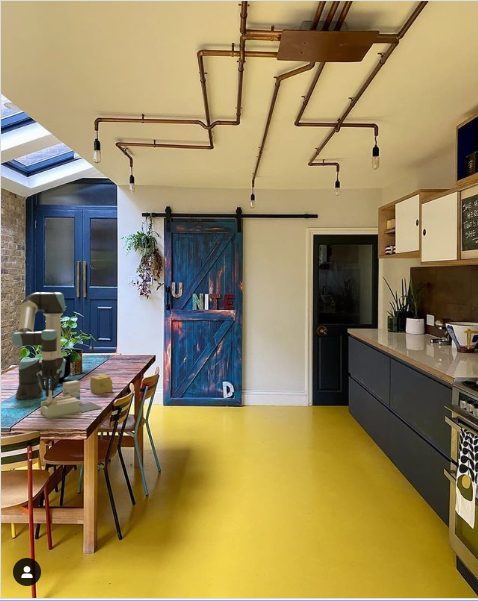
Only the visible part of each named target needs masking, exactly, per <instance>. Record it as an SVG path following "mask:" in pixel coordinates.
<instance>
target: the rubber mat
mask: <svg viewBox="0 0 478 601" xmlns="http://www.w3.org/2000/svg"><path fill="white" fill-rule="evenodd" d="M100 409H103V407H102V406H100V405H98V404H96V403H94V402H91V401H90V402H85V403H79V413H87V412H92V411H95V410H100Z"/></svg>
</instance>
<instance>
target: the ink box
mask: <svg viewBox="0 0 478 601" xmlns="http://www.w3.org/2000/svg"><path fill="white" fill-rule="evenodd" d="M67 396H71V398H73V397H74V398H76V399H78V400H80V401H81V381H79V380H71V381H66V382H62V397H67Z"/></svg>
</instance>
